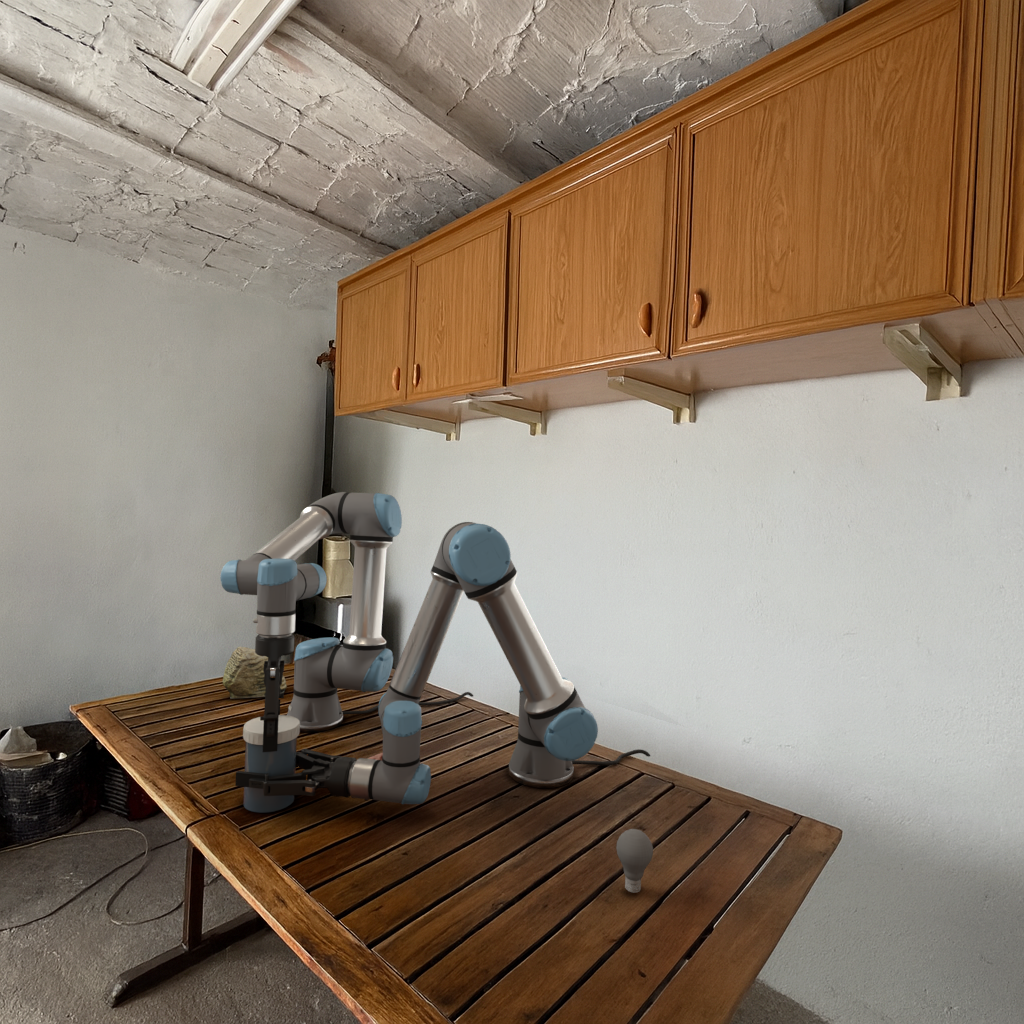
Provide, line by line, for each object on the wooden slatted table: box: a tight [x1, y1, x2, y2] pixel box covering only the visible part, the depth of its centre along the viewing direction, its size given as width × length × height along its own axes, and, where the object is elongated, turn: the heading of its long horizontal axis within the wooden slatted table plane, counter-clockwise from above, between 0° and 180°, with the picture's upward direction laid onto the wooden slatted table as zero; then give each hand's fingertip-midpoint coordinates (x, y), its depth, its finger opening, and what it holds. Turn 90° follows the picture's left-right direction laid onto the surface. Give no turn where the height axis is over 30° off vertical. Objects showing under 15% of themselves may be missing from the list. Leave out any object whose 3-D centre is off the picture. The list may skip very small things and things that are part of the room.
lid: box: [242, 714, 301, 745], centre depth 131 cm, size 11×11×2 cm
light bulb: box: [615, 828, 654, 894], centre depth 106 cm, size 6×6×10 cm
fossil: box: [222, 646, 288, 699], centre depth 198 cm, size 9×18×15 cm, turn 132°
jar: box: [243, 736, 298, 814], centre depth 131 cm, size 10×10×16 cm
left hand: (271, 740), depth 131 cm, fingers closed on lid, 11 cm apart
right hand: (250, 767), depth 131 cm, fingers closed on jar, 10 cm apart
